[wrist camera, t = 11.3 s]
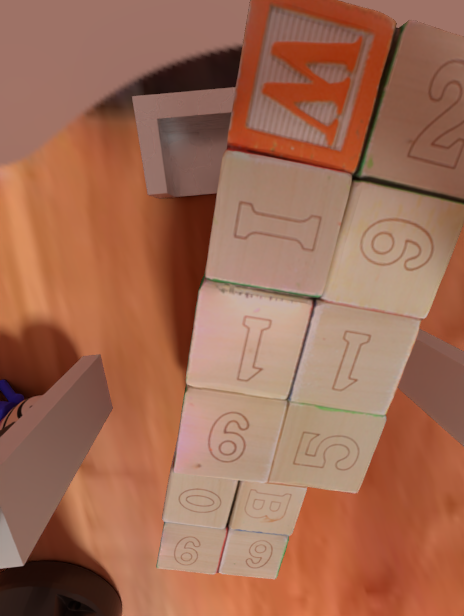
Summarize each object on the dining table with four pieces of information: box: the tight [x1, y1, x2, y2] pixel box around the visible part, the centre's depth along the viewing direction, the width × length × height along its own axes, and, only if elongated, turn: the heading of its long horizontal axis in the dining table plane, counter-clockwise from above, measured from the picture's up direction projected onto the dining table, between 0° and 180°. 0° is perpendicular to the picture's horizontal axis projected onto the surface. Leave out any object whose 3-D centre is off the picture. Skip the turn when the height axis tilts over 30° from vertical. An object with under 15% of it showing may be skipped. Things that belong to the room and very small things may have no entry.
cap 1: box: [132, 87, 236, 199], centre depth 19 cm, size 11×5×4 cm, turn 95°
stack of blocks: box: [156, 0, 464, 579], centre depth 15 cm, size 21×6×12 cm, turn 168°
